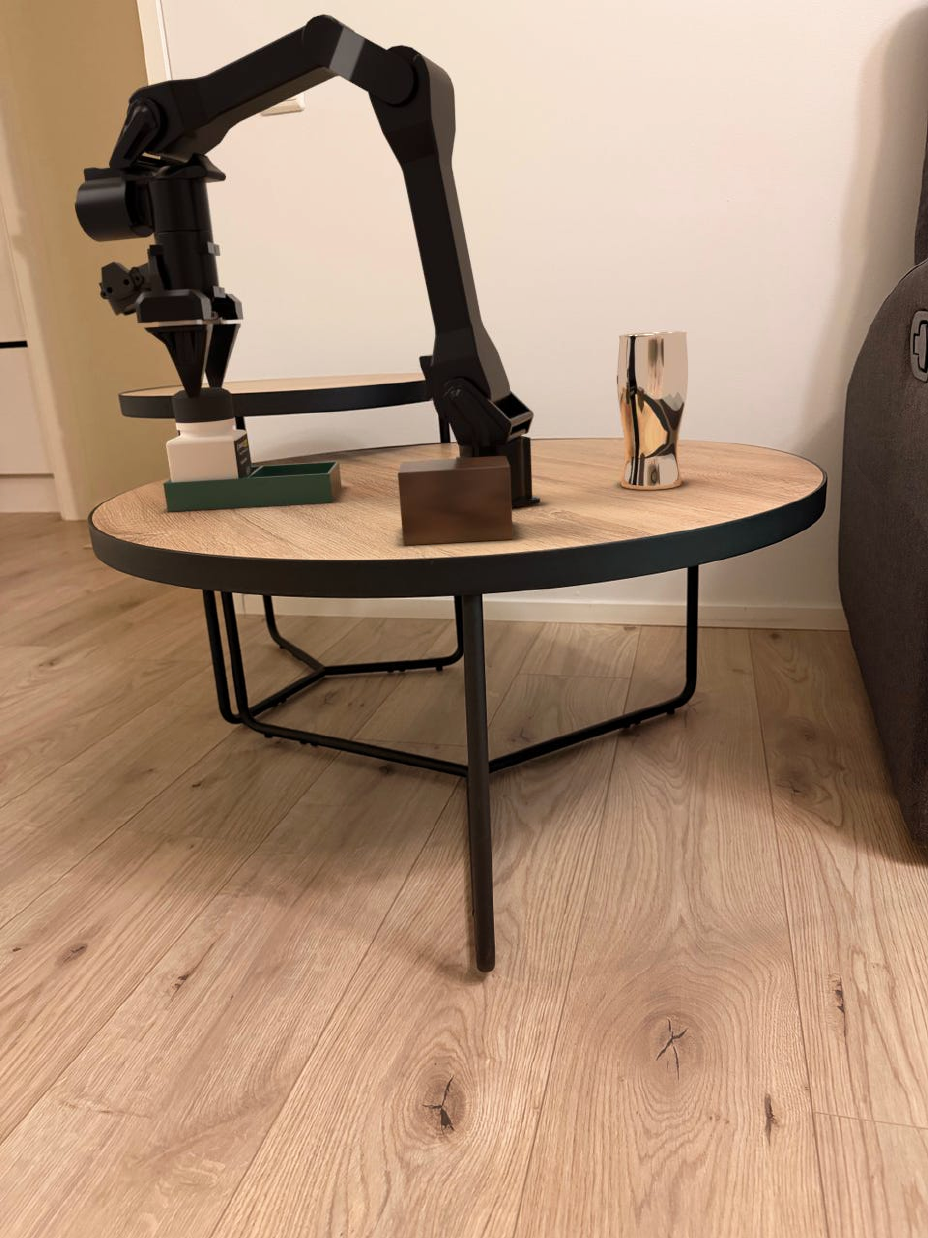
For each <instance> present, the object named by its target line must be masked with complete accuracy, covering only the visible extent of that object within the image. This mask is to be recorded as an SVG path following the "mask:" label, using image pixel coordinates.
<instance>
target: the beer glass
mask: <svg viewBox="0 0 928 1238" xmlns="http://www.w3.org/2000/svg"><path fill="white" fill-rule="evenodd" d="M687 340H688V339H687V331H685V330H684V331H683V330H681V331H680V330H677V331H676V330H675V331H673V330H672V331H654V332H653V331H652V332H634V333H624V334H623V333H622V334H619V335H618V347H617V358H616V359H617V360H616V394H617V403H618V409H619V416H620V421H621V427H622V433H623V440H624V462H623V468H622V469H623V470H622V474H621V481H620V484H621V486H622V487H623V488H625V489H631V490H637V491H639V490H640V491H641V490H642V491H657V490H666V489H674V488H677V487H679V486H681V484H682V476H681V470H680V463H679V451H678V450H679V439H680V433H681V427H682V421H683V416H684V411H685V406H686V399H687V393H688V382H689V381H688V380H689V378H688V377H689V359H688V358H689V357H688V343H687V342H688V341H687Z"/></svg>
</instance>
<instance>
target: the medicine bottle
mask: <svg viewBox="0 0 928 1238" xmlns="http://www.w3.org/2000/svg"><path fill="white" fill-rule="evenodd" d="M171 402H172V408H173V414H174V415H173V416H174V422H175V427H176V431H179V434H180V435H178V436H175V437H174V438H172V439H170V440H167V442H166V443H165V447H166V453H167V460H168V466H169V472H170V479H171V480H172V482H186V481H203V480H220V479H238V478H246V477H248V476H249V475H250V474H251V473H252V470H251V466H252V462H251V453H250V447H249V440H248V439H249V437H248V433H247V431H246V430H245V429H234V428H233V427H234V426H235V425H236V418H235V413H234V411H235V410H234V403H233V396H232V393H231V391H230V390H228V389H226V388H224V387H222V388H219V387H209V386H206V387H205V386H204V387H203V386H202V388H201V393H200V397H199V398H193V399H190V398H188V397H187V394H186V392H185V389H181V390H179V391H177V392H175V393H174V394H173V395H172V397H171Z"/></svg>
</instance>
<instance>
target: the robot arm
mask: <svg viewBox="0 0 928 1238" xmlns="http://www.w3.org/2000/svg"><path fill="white" fill-rule="evenodd" d="M336 77H341V78H342V79H344V80H346V81H347V82H349V83H351V84H353V85H354V86H356V87H358V88H360V89H362V90H363V91H365V92H367V95H368V98H369V101H370V104H371V106H372V109H373V112H374V114H375V117H376V120H377V122H378V125H379V128H380V130H381V133H382V135H383V136H384V138H385V140H386V142H387V145H388V146H389V148H390V150H391V152H392V154H393V156H394V157H395V159H396V161H397V162H398V165H399V167H400V169H401V172H402V176H403V180H404V184H405V189H406V195H407V199H408V204H409V209H410V213H411V214H410V215H411V218H412V223H413V229H414V234H415V238H416V243H417V248H418V252H419V259H420V262H421V263H420V264H421V267H422V273H423V278H424V282H425V288H426V292H427V298H428V302H429V306H430V311H431V316H432V321H433V326H434V342H433V350H432V354H424V355H420V356H418V357H419V358H418V361H419V366H420V369H421V371H422V374H423V377H424V380H425V385H426V394H425V401H426V402H430V401H432V404H433V406H434V410H435V412H436V414H437V415H438V417H439V418H440V419H443V421H445V422H446V423H448V425H449V426H450V428H451V431H452V433H453V436H454V439H455V441H456V443H457V445H458V450H459V451H458V454H459V456H456V457H455V459H457V458H475V457H493V456H506V458H507V460H508V463H509V466H510V479H511V505H512V508H514V507H521V506H527V505H528V506H529V505H534V504H541V498H540V497H539V496H536V495H533V472H532V471H533V469H532V442H531V441H532V440H531V439H532V438H531V437H529V436H524V435H527V434H528V433H529V432H530V429H531V425H532V423H533V419H534V416H535V415H534V411H532V409H530V408H529V406H527V405H526V404H525V403H524V402H523V401H522V400H521V399H520V398H519V397H518V396H517V395H516V394H515V393H514V392H513V391H512V390H511V385H510V381H509V378H508V375H507V373H506V370H505V367H504V364H503V362H502V359H501V356H500V354H499V352H498V349H497V347H496V345H495V344H494V342H493V340H492V338H491V336H490V334H489V332H488V331H487V329H486V327H485V325H484V323H483V320H482V316H481V310H480V305H479V299H478V295H477V289H476V284H475V279H474V274H473V268H472V264H471V258H470V253H469V248H468V242H467V236H466V232H465V227H464V222H463V217H462V211H461V207H460V201H459V195H458V191H457V185H456V180H455V175H454V169H453V155H454V146H455V141H456V139H455V138H456V134H457V133H456V132H457V123H456V122H457V121H456V120H457V119H456V98H455V96H456V94H455V88H454V87H455V86H454V84H453V81H452V78H451V77H450V75H449V73H448V72H447V71H446V70H445V69H444V68H442V67H441V66H439V65H438V64H437V63H436V62H434V61H433V60H431V59H430V58H428V57H427V56H425V55H424V54H422V53H421V52H419V51H418V50H417V49H415V48H414V47H412V46H408V45H403V44H399V45H394V46H390V47H389V48H387V49H386V48H384V47H383V46H382V45H380V44H377V43H375V42H373V41H372V40H370V39H368V38H367V37H364V35H361V34H359V33H357V32H355V30H354V29H352V28H351V27H350V26H348V25H346V24H345V23H343V22H342V21H340V20H339V19H337V18H335V17H334V16H333V15H330V14H324V13H323V14H319V15H316V16H313V17H312V18H310V19H309V20H308V21H307V22H306V24H305V25H303V26H301V27H299V28H297V29H295V30H292V31H290V32H289V33H287V34H285V35H284V36H281V37H279V38H277V39H275V40H274V41H271V42H269V43H267V44H265V45H263V46H261V47H260V48H257V49H255V50H254V51H252V52H249V53H248V54H246V55H243V56H241V57H240V58H238V59H236V60H234V61H232V62H229V63H228V64H226V65H224V66H222V67H220V68H218V69H215V70H213V71H212V72H210V73H208V74H206V75H201V76H198V77H194V78H181V79H170V80H163V81H161V82H156V83H152V84H149V85H146V86H145V85H144V86H142V87H139V88H138V89H137V90H135V91H134V92H132V93H131V95H130V97H129V98H128V99H127V100H128V106H127V109H126V117H125V119H124V122H123V124H122V127H121V130H120V132H119V135H118V138H117V140H116V143H115V145H114V146H115V147H114V148H113V151H112V154H111V156H110V158H109V161H108V167H102V168H101V167H84V169H83V177H84V182H82V183H81V184H80V186H79V187H78V189H77V192H76V199H75V201H74V210H75V214H76V218H77V221H78V223H79V225H80V227H81V228H82V230H83V232H84V233H85V234H86V235H87V236H88V237H89V238H90V239H91V240H92V241H95V242H97V243H103V242H105V243H106V242H115V241H124V240H126V241H127V240H137V239H146V238H150V237H151V236H153V240H154V241H153V242H154V244H149V245H148V248H147V249H146V254H147V262H146V263H143V264H140V265H139V266H132V267H130V269H128V268H127V267H126V266H125V265H123V264H122V263H121V262H116V261H112V262H110V263H108V264H106V265H104V266H101V268H100V274H101V276H100V277H101V281H100V282H99V283H98V285H99V287H100V292H99V293H100V294H99V295H100V297H101V299H102V300H107V301H108V304H109V306H110V307H111V309H112V312H113V313H114V315H115V316H120V315H123V316H124V317H126V316H131V315H133V314H136V320H137V324H153V323H158V326H146V327H143V329H144V330H145V332H146V333H148V334H150V335H152V336H153V337H155V338H156V339H157V340H159V341H160V342H161V343H162V344H163V345H165V347H166V349H167V352H168V354H169V356H170V358H171V361H172V363H173V365H174V368H175V371H176V373H177V375H178V377H179V379H180V382H181V385H182V387H183V390H185V392H186V394H187V397H188V398H190V399H193V398H199V397H200V393H201V388H202V387H203V383H204V378H206V381H207V384H208V387H219V388H223V386H224V381H225V379H226V376H227V375H226V374H227V371H228V367H229V364H230V360H231V357H232V353H233V350H234V346H235V343H236V340H237V337H238V334H239V331H240V329H241V327H242V323H240V322H238V323H237V322H236V323H229V322H228V321H243V320H244V312H243V304H242V303H243V302H242V301H241V300H240V299H239V298H238V297H236V296H235V295H234V294H233V293H227V292H226V288H225V287H221V286H220V279H219V271H218V270H219V269H218V263H217V257H220V256H221V249H220V245H219V244H216V243H215V239H214V233H213V232H214V231H213V223H212V217H211V216H212V215H211V209H210V208H211V207H210V201H209V193H208V186H207V184H210V183H220V182H225V181H226V179H227V175H226V173H225V172H223V171H222V170H221V169H220V168H218V166H216V165H215V164H214V163H213V162H212V161H211V160H210V158H209V157H208V155H207V154H209V152H211V151H212V150H214V149H215V148H216V147H218V146H219V145H220V144H221V143H222V141H224V139H225V137H226V136H227V134H228V133H229V131H230V130H231V129H233V128H234V127H235V126H236V125H237V124H239V123H241V122H242V121H245V120H247V119H249V118H251V117H253V116H255V115H259V114H260V113H262V112H264V111H266V110H268V109H270V108H272V107H275V106H277V105H278V104H281V103H284V102H285V101H287V100H289V99H292V98H293V97H296V96H297V95H300V94H302V93H304V92H306V91H308V90H310V89H312V88H314V87H315V88H316V87H317V86H319V85H321V84H324V83H325V82H328V81H329V80H332V79H334V78H336ZM145 154H146V155H145ZM147 155H149V156H147ZM153 156H155V157H153ZM156 157H158V158H156Z"/></svg>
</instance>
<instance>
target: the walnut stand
mask: <svg viewBox="0 0 928 1238" xmlns="http://www.w3.org/2000/svg"><path fill="white" fill-rule="evenodd" d="M397 481H398V482H397V483H398V493H399V494H398V495H399V507H400V519H401V533H402V544H403V546H416V545H432V544H435V545H437V544H452V543H469V542H486V541H490V542H491V541H504V540H505V541H507V540H513V539H514V533H513V510H512V509H513V507H512V505H511V479H510V466H509V463H508V460H507V458H506V456H493V457H475V458H457V459H456V458H444V459H443V458H442V459H441V458H440V459H424V460H407V461H401V464H400V466H399V469H398V471H397Z"/></svg>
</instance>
